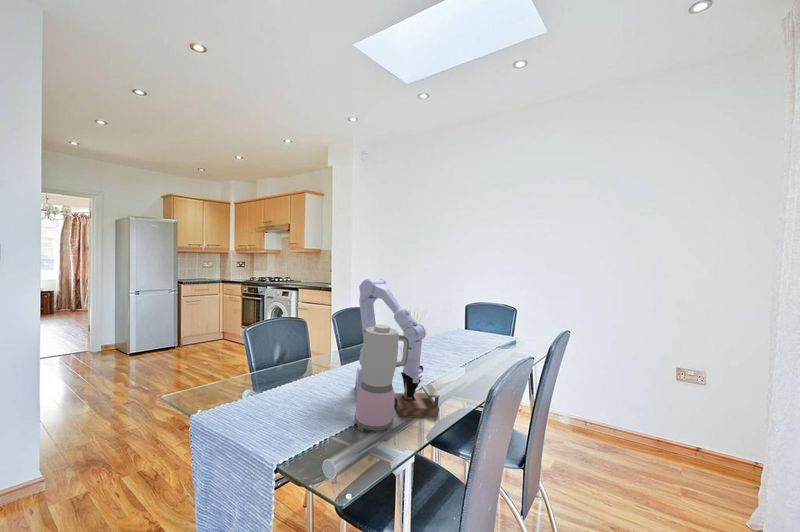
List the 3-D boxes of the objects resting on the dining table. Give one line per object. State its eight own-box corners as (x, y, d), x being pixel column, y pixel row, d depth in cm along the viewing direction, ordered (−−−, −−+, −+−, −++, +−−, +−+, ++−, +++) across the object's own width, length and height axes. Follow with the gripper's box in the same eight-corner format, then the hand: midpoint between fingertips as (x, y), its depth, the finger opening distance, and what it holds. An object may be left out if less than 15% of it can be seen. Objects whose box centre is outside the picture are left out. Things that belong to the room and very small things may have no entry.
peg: (412, 403, 127) (414, 382, 127) (403, 403, 127) (406, 381, 126) (411, 399, 130) (413, 378, 130) (402, 399, 130) (405, 378, 130)
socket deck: (399, 416, 120) (401, 396, 119) (392, 401, 132) (393, 382, 131) (438, 416, 123) (440, 396, 123) (427, 400, 135) (429, 382, 134)
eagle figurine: (426, 383, 149) (427, 372, 158) (418, 369, 148) (419, 359, 157) (411, 390, 150) (412, 379, 159) (403, 377, 149) (404, 366, 158)
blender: (357, 435, 106) (366, 330, 104) (351, 415, 118) (359, 321, 116) (406, 431, 111) (416, 331, 109) (396, 413, 122) (404, 322, 120)
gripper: (428, 365, 122) (425, 403, 122) (417, 352, 136) (414, 386, 137) (409, 365, 120) (405, 403, 121) (399, 351, 134) (396, 386, 135)
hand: (408, 394), depth 129 cm, fingers closed on peg, 3 cm apart
